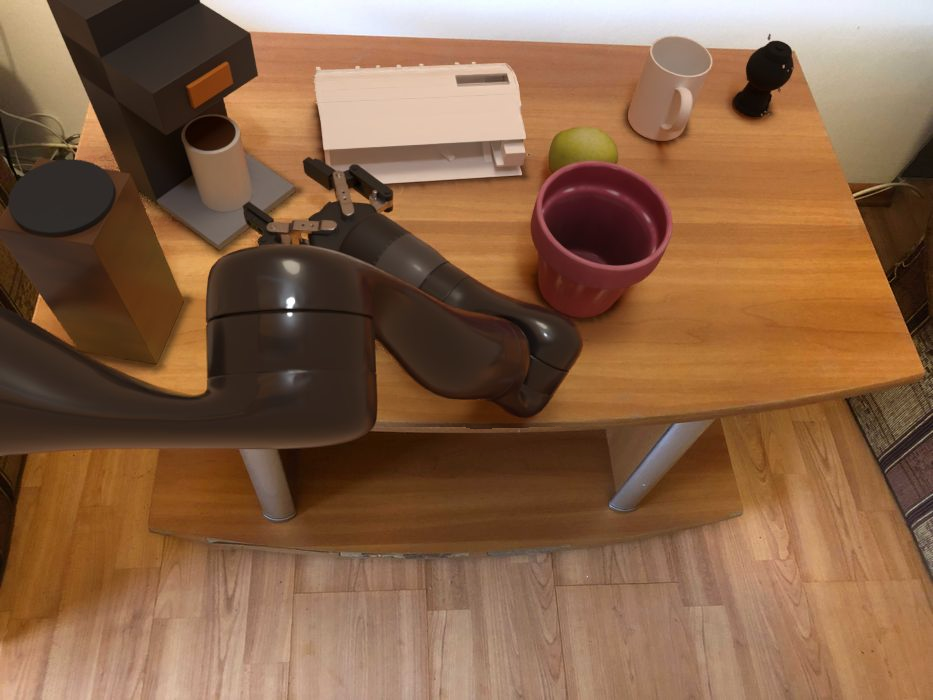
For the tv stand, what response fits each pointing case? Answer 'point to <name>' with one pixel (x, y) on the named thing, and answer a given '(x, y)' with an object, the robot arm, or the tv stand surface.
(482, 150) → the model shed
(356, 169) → the robot arm
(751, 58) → the gumball machine
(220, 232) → the coffee machine
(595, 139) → the apple
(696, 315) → the tv stand surface
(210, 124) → the white cup
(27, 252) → the brown box
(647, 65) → the mug
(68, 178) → the coaster
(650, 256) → the flower pot
